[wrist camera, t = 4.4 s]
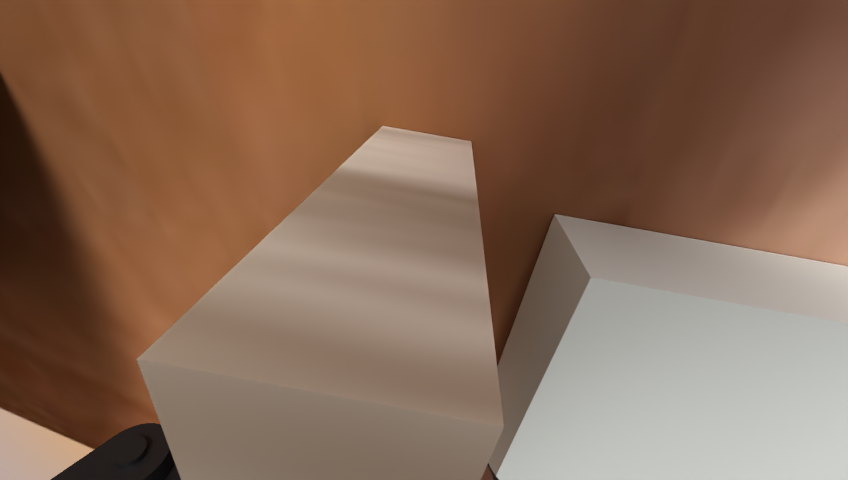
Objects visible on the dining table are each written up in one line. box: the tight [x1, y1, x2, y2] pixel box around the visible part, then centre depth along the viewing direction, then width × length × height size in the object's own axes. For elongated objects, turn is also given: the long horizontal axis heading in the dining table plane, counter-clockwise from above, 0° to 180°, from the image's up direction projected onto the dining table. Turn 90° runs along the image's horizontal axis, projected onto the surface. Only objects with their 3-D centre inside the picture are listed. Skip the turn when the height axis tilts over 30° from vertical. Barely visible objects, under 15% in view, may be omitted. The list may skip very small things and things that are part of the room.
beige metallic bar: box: [137, 126, 504, 480], centre depth 10 cm, size 12×3×10 cm, turn 171°
